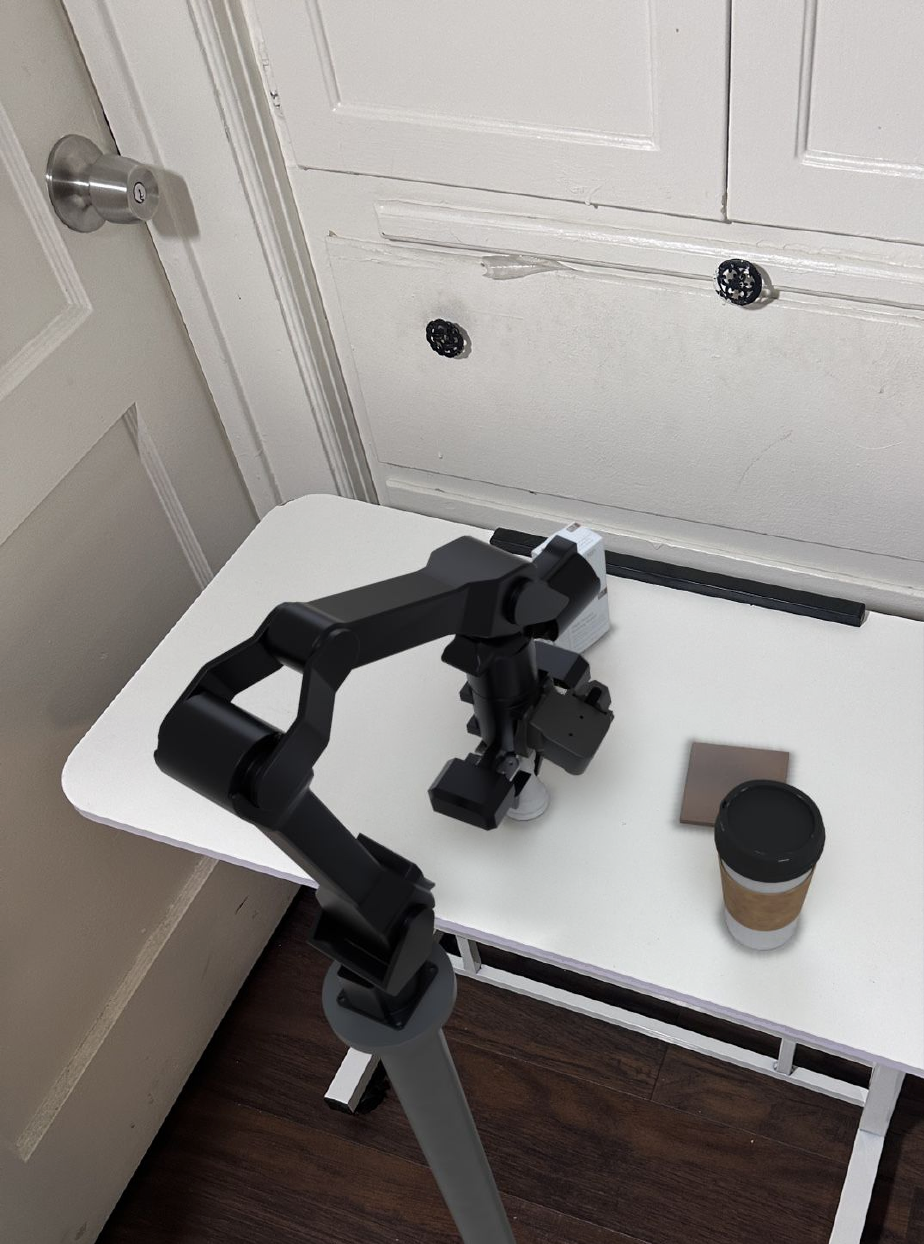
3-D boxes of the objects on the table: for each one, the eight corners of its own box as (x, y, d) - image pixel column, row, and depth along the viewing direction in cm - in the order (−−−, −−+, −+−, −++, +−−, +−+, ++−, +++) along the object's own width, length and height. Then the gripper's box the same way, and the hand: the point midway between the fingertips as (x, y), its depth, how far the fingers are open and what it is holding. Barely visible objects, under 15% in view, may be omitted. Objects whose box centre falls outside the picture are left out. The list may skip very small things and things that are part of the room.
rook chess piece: (509, 779, 114) (499, 724, 107) (555, 789, 113) (548, 733, 106) (494, 817, 111) (482, 763, 105) (540, 827, 110) (532, 773, 104)
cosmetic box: (572, 662, 122) (562, 572, 113) (539, 641, 124) (527, 551, 115) (613, 627, 125) (607, 537, 116) (581, 608, 127) (572, 517, 118)
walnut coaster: (780, 834, 109) (780, 830, 108) (679, 823, 110) (679, 819, 109) (789, 755, 114) (789, 751, 114) (692, 745, 115) (693, 741, 115)
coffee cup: (726, 866, 107) (732, 760, 95) (822, 892, 105) (839, 787, 93) (698, 947, 102) (700, 846, 90) (797, 976, 100) (812, 876, 88)
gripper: (539, 791, 91) (556, 902, 103) (642, 623, 101) (646, 743, 113) (409, 745, 94) (441, 858, 106) (522, 587, 104) (539, 707, 116)
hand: (522, 790), depth 110 cm, fingers open, 4 cm apart
